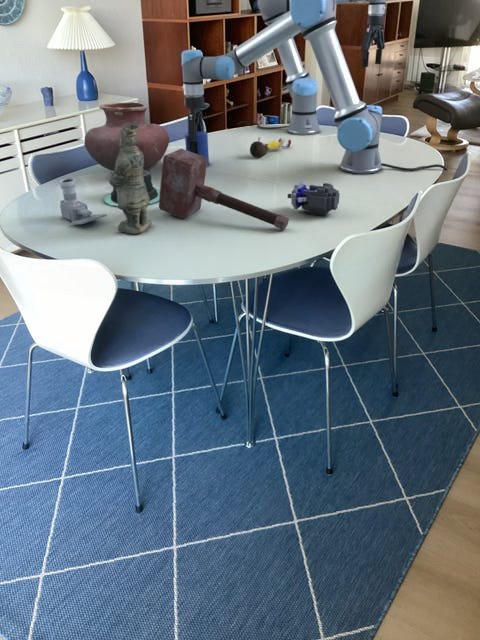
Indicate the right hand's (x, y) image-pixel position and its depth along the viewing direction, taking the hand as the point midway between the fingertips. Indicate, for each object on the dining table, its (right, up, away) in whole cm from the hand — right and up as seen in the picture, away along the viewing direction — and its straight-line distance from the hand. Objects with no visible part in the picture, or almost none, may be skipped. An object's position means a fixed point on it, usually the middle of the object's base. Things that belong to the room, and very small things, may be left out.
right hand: (197, 156), depth 220 cm
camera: (-31, -35, -51) cm, 70 cm away
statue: (-14, -38, -58) cm, 71 cm away
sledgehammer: (+12, -35, -54) cm, 65 cm away
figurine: (+30, +6, +16) cm, 35 cm away
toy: (+39, -32, -49) cm, 71 cm away
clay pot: (-25, -9, -7) cm, 27 cm away
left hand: (+80, +58, +48) cm, 110 cm away
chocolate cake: (-19, -24, -33) cm, 45 cm away
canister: (0, -3, +2) cm, 3 cm away
